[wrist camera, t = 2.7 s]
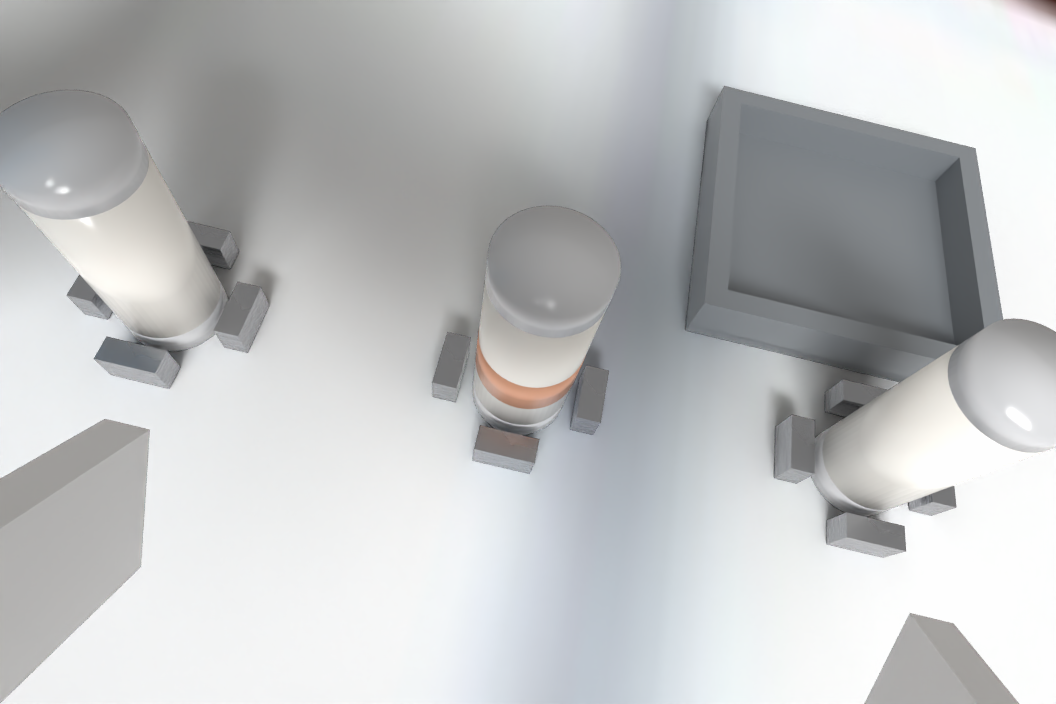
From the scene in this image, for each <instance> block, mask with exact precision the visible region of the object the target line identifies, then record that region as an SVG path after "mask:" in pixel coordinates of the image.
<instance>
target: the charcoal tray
mask: <svg viewBox="0 0 1056 704" xmlns="http://www.w3.org/2000/svg"><path fill="white" fill-rule="evenodd" d="M1000 320H1003V316H1002V310H1001V303H1000V297H999V291H998V285H997V279H996V272H995V266H994V260H993V254H992V248H991V241H990V235H989V229H988V223H987V217H986V211H985V204H984V198H983V192H982V186H981V180H980V173H979V167H978V161H977V155H976V149H975V148H972V147H968V146H964V145H960V144H956V143H952V142H948V141H944V140H940V139H936V138H932V137H928V136H924V135H920V134H916V133H912V132H908V131H904V130H900V129H896V128H892V127H887V126H883V125H879V124H875V123H871V122H867V121H863V120H859V119H855V118H851V117H847V116H843V115H839V114H835V113H831V112H827V111H823V110H819V109H815V108H811V107H807V106H803V105H799V104H795V103H791V102H787V101H783V100H779V99H775V98H771V97H767V96H763V95H759V94H754V93H750V92H746V91H742V90H738V89H734V88H730V87H726V86H724V87H723V89H722V91H721V94H720V96H719V98H718V100H717V102H716V104H715V106H714V108H713V110H712V112H711V114H710V116H709V118H708V120H707V127H706V136H705V146H704V155H703V165H702V175H701V184H700V194H699V204H698V213H697V223H696V232H695V242H694V252H693V261H692V271H691V280H690V290H689V300H688V309H687V319H686V328H685V330H686V331H690V332H694V333H698V334H702V335H707V336H711V337H715V338H719V339H723V340H727V341H731V342H736V343H740V344H744V345H748V346H752V347H756V348H760V349H765V350H769V351H773V352H777V353H781V354H785V355H789V356H794V357H798V358H802V359H806V360H810V361H814V362H818V363H823V364H827V365H831V366H835V367H839V368H843V369H847V370H852V371H856V372H860V373H864V374H868V375H872V376H876V377H881V378H885V379H889V380H893V381H897V382H902V381H903V380H905V379H906V378H908V377H909V376H911V375H912V374H914V373H916V372H917V371H919V370H920V369H922V368H923V367H925V366H927V365H928V364H930V363H931V362H933V361H934V360H936V359H937V358H939V357H941V356H942V355H944V354H945V353H947V352H948V351H950V350H952V349H953V348H955V347H956V346H958V345H959V344H961V343H962V342H964V341H966V340H967V339H969V338H970V337H972V336H973V335H975V334H977V333H978V332H980V331H981V330H983V329H984V328H986V327H987V326H989V325H991V324H992V323H994V322H997V321H1000Z"/></svg>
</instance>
